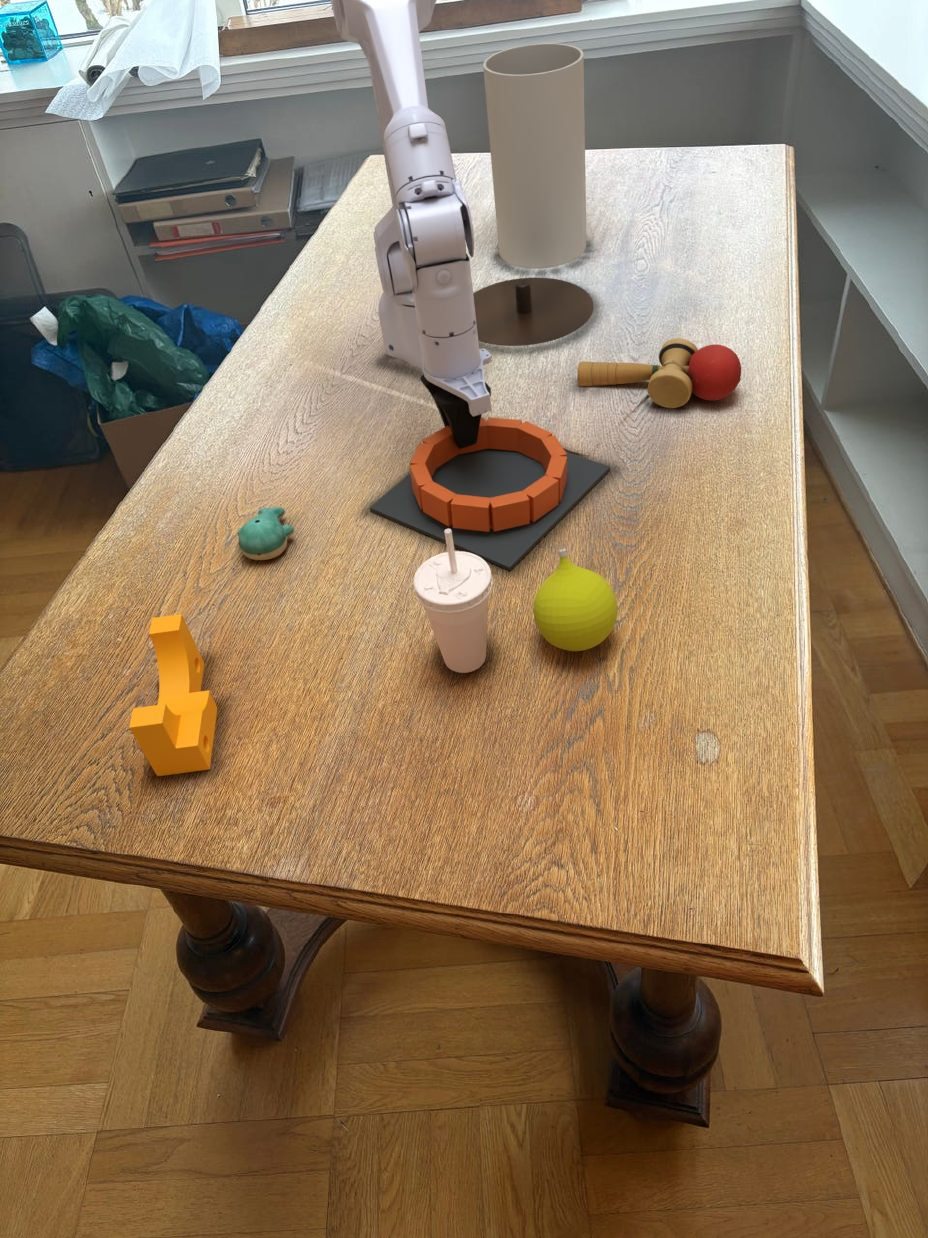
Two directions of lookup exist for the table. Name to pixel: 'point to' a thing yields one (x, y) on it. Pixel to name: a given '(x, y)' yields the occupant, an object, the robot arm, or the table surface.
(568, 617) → the ornament
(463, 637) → the smoothie
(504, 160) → the cylinder vase
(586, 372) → the kendama
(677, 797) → the table surface
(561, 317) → the round disc
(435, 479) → the mat
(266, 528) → the whale figurine
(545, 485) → the ring
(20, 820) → the table surface
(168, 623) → the pipe clamp
